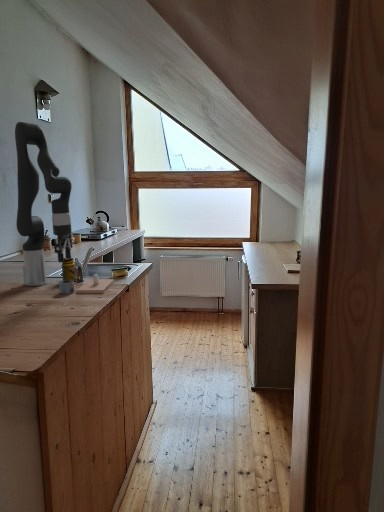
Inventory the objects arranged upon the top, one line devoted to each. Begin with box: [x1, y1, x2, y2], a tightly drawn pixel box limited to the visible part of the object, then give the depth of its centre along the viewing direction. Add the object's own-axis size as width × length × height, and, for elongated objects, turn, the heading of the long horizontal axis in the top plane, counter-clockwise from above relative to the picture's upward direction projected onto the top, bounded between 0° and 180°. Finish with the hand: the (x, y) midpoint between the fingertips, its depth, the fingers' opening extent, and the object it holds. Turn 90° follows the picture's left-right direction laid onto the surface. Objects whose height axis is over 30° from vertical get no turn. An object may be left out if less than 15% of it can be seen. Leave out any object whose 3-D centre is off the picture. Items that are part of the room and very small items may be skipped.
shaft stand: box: [76, 273, 115, 294], centre depth 169 cm, size 12×19×6 cm, turn 178°
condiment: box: [57, 257, 76, 284], centre depth 179 cm, size 7×8×12 cm
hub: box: [58, 279, 75, 295], centre depth 161 cm, size 6×6×5 cm
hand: (64, 260), depth 159 cm, fingers open, 8 cm apart
